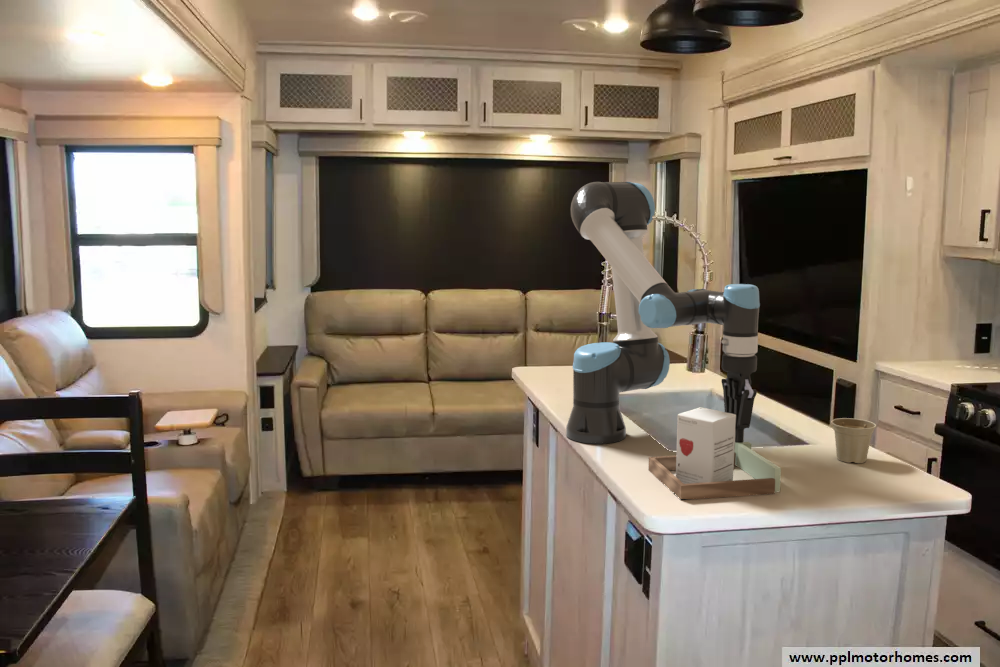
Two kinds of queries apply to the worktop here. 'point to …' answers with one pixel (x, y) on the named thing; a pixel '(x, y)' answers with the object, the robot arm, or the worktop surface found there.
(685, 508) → the worktop surface
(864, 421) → the flower pot
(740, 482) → the housing
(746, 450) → the green piece
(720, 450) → the supplement box
